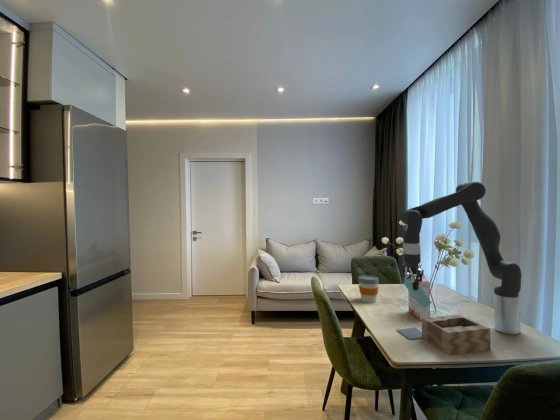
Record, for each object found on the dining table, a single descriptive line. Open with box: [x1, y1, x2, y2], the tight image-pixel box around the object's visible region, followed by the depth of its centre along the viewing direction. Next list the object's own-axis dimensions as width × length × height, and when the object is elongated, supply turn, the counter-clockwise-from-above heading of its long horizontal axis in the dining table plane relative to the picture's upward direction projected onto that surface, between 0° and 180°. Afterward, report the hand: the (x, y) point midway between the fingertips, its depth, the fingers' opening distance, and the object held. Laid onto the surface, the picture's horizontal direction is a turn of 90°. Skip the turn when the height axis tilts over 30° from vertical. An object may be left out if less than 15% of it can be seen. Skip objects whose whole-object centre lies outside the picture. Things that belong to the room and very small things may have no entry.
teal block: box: [402, 278, 432, 308], centre depth 135 cm, size 14×4×4 cm
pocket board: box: [421, 314, 491, 356], centre depth 125 cm, size 20×16×9 cm
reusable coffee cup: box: [358, 274, 380, 304], centre depth 185 cm, size 12×12×15 cm
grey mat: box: [396, 327, 424, 341], centre depth 135 cm, size 10×10×1 cm
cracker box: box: [407, 277, 431, 321], centre depth 158 cm, size 14×6×21 cm, turn 179°
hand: (412, 288), depth 135 cm, fingers closed on teal block, 4 cm apart
